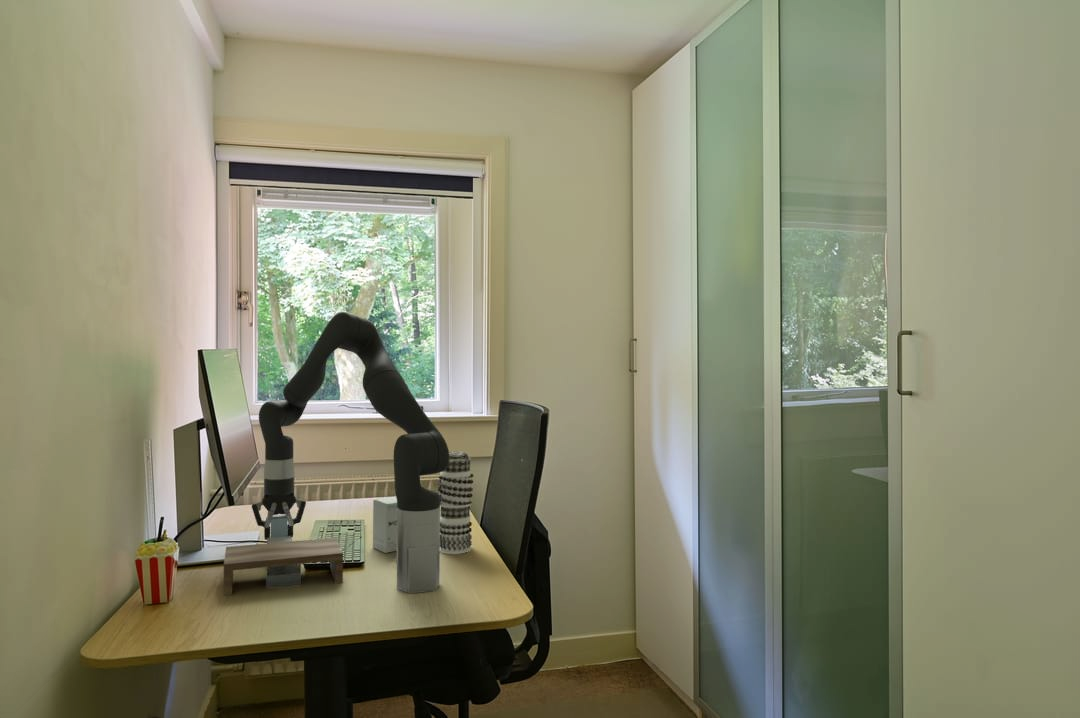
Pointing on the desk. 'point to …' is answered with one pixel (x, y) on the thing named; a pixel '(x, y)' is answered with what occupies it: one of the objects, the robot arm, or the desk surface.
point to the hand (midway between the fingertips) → (278, 539)
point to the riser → (282, 557)
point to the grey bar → (279, 530)
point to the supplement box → (385, 524)
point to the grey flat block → (283, 576)
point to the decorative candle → (455, 505)
